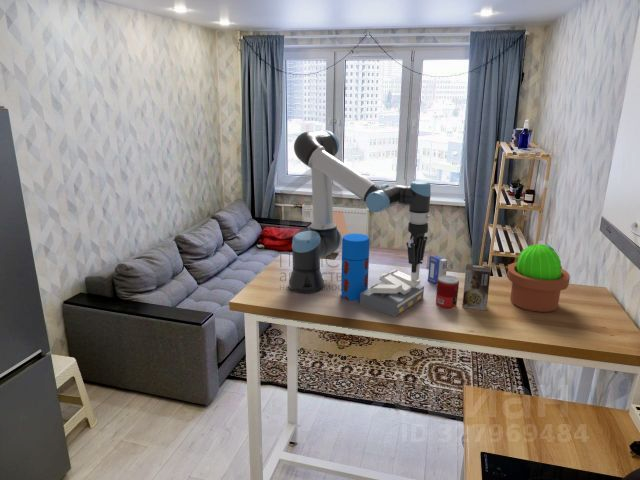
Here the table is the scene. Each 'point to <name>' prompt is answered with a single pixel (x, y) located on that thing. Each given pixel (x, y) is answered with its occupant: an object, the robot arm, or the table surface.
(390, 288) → the rocker
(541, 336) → the table surface
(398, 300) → the switch unit
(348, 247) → the thermos
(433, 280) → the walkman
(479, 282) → the coffee box
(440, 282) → the canned food
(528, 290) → the potted cactus
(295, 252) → the robot arm
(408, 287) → the rocker
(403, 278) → the rocker
